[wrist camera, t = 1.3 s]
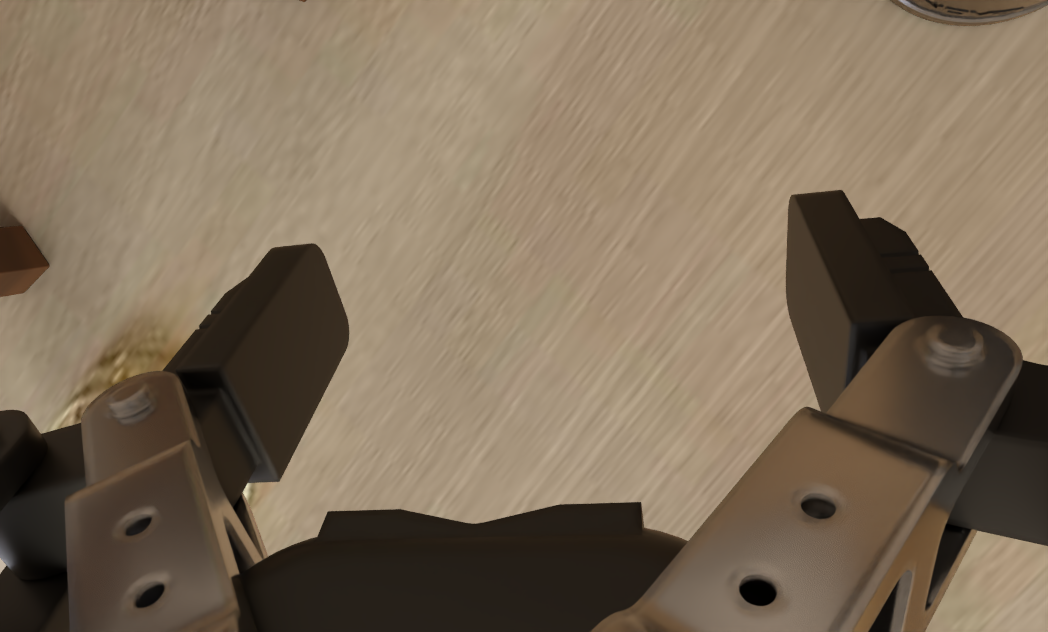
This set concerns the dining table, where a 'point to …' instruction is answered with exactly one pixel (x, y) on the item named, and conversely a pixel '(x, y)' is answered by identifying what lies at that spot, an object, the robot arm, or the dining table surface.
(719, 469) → the dining table surface
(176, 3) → the dining table surface
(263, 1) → the dining table surface
